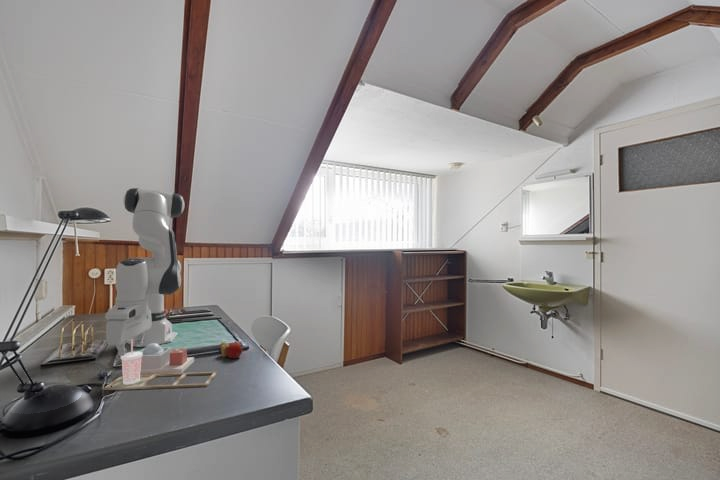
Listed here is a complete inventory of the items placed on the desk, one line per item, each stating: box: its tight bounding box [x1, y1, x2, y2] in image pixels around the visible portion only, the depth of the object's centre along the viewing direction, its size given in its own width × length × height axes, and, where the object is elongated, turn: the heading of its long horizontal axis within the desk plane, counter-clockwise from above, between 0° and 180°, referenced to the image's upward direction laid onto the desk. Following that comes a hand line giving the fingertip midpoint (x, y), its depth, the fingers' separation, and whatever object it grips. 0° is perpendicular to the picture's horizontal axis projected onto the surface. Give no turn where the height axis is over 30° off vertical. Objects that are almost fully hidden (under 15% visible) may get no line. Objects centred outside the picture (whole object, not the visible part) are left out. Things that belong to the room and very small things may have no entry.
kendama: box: [219, 340, 243, 359], centre depth 141 cm, size 8×6×18 cm
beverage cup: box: [120, 339, 143, 385], centre depth 112 cm, size 6×6×14 cm
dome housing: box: [139, 346, 195, 374], centre depth 125 cm, size 12×18×6 cm, turn 97°
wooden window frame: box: [103, 371, 218, 391], centre depth 113 cm, size 11×31×1 cm, turn 97°
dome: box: [142, 343, 164, 355], centre depth 125 cm, size 7×7×7 cm
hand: (130, 350), depth 112 cm, fingers open, 8 cm apart
